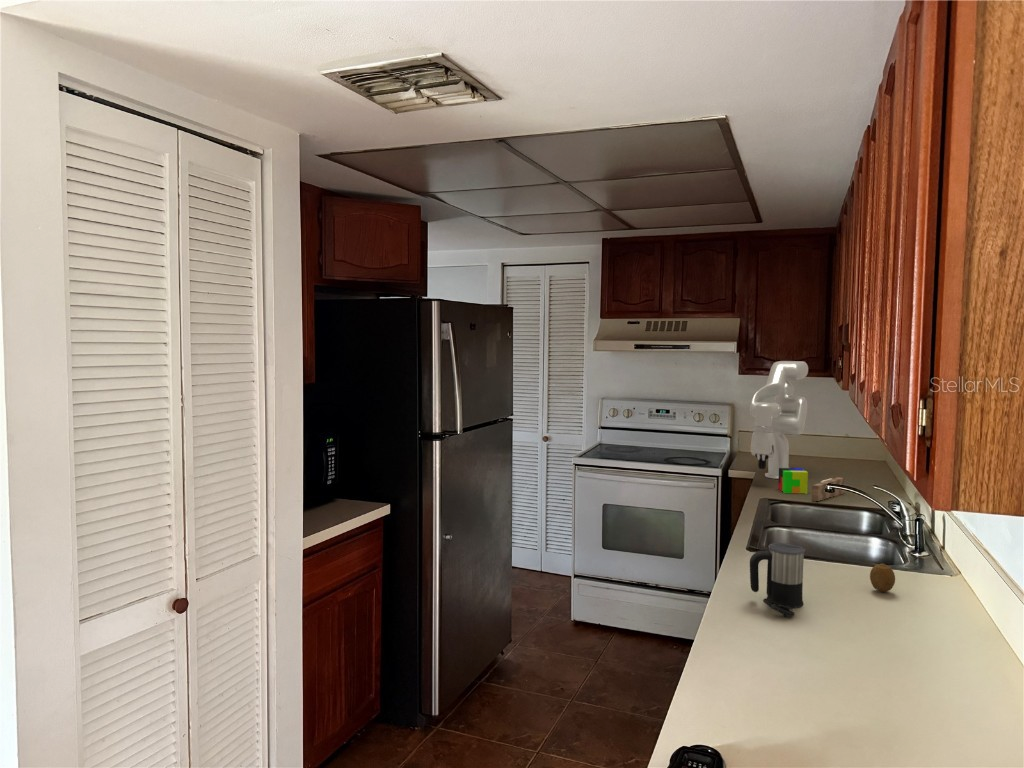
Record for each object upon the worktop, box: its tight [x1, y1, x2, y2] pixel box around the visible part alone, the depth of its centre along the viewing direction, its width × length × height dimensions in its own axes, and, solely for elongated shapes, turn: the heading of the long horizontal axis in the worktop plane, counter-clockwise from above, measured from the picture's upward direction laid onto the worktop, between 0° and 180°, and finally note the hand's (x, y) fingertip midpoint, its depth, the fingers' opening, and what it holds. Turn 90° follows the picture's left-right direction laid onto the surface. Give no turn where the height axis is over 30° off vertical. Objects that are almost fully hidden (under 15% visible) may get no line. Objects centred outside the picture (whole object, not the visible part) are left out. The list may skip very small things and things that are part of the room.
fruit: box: [869, 563, 896, 593], centre depth 197 cm, size 6×6×8 cm
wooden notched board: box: [811, 476, 845, 502], centre depth 314 cm, size 26×2×8 cm, turn 132°
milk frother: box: [749, 542, 806, 617], centre depth 185 cm, size 14×16×15 cm
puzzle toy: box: [778, 467, 809, 495], centre depth 326 cm, size 10×10×10 cm
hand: (762, 468), depth 336 cm, fingers closed
